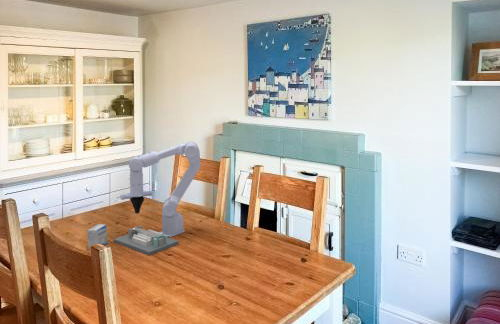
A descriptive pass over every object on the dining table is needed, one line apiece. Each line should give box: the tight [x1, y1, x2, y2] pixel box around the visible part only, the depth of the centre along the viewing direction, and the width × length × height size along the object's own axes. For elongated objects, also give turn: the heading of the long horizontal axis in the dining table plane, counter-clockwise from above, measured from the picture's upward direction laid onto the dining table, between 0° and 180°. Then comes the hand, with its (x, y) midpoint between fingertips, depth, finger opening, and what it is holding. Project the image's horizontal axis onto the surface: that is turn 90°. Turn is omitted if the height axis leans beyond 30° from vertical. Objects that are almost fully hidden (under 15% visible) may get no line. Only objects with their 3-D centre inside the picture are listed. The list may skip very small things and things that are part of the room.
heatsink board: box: [113, 224, 180, 256], centre depth 187 cm, size 16×24×6 cm, turn 52°
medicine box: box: [86, 223, 108, 250], centre depth 182 cm, size 8×4×9 cm, turn 168°
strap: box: [131, 226, 163, 239], centre depth 186 cm, size 17×4×1 cm, turn 53°
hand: (137, 212), depth 196 cm, fingers closed
